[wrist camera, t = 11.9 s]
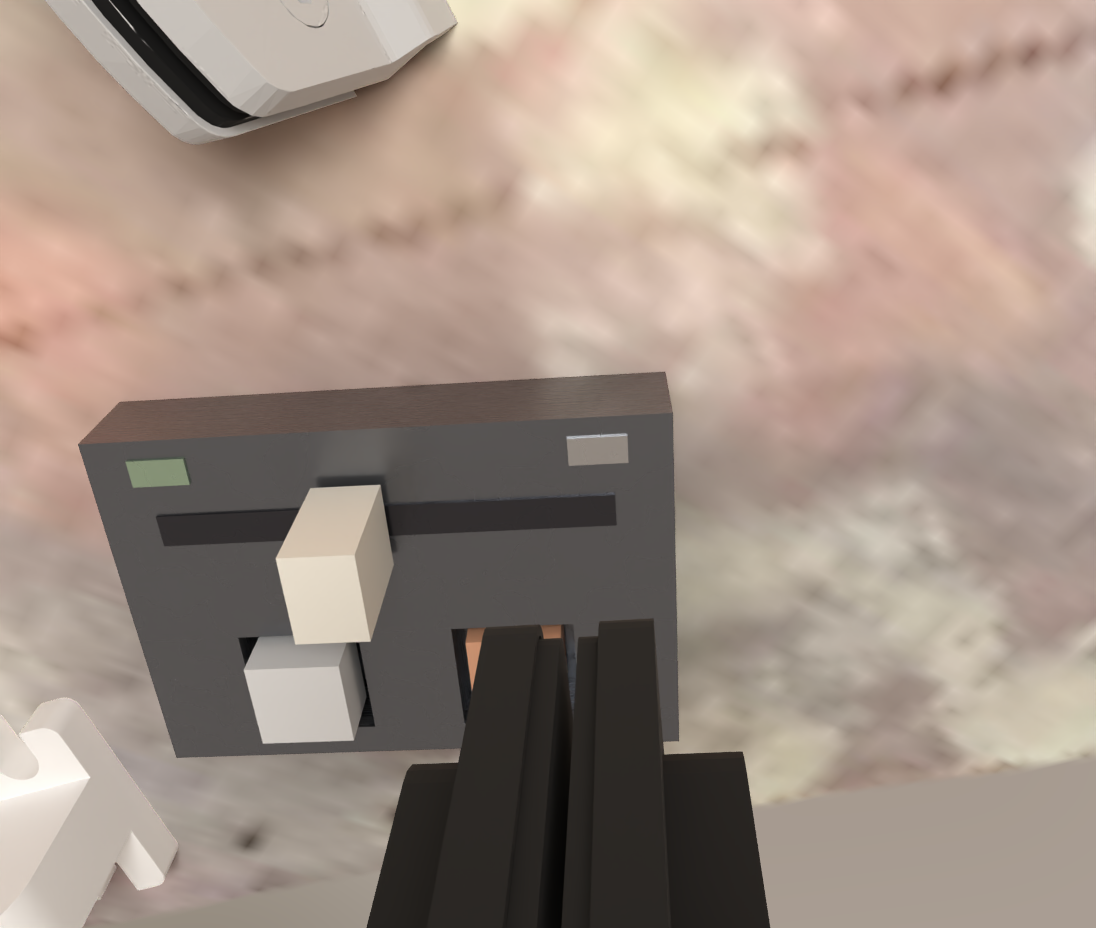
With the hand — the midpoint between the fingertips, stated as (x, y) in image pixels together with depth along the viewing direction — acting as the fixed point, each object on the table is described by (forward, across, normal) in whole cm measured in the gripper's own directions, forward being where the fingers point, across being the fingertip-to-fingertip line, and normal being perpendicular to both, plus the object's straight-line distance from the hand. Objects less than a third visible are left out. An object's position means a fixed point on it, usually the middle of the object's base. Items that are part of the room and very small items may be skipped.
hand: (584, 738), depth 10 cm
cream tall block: (+22, +10, +10) cm, 26 cm away
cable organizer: (+26, +26, +25) cm, 44 cm away
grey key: (+24, +13, +17) cm, 32 cm away
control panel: (+26, +9, +14) cm, 31 cm away
